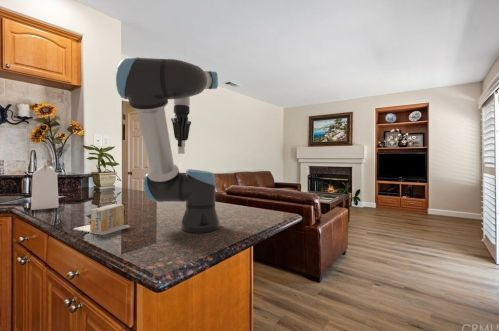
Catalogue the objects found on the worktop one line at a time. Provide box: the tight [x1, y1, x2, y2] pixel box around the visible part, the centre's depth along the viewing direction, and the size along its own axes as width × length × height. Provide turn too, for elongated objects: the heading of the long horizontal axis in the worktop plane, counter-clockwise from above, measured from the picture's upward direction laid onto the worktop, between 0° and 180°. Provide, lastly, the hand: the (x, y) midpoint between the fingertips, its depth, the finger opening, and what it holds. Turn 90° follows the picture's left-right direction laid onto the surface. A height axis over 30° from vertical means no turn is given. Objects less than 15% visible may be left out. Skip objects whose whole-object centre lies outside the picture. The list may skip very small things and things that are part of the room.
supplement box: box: [89, 203, 125, 232], centre depth 98 cm, size 8×5×13 cm
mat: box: [72, 224, 131, 236], centre depth 98 cm, size 16×12×1 cm
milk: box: [30, 159, 59, 211], centre depth 140 cm, size 12×12×26 cm
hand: (181, 153), depth 124 cm, fingers closed
